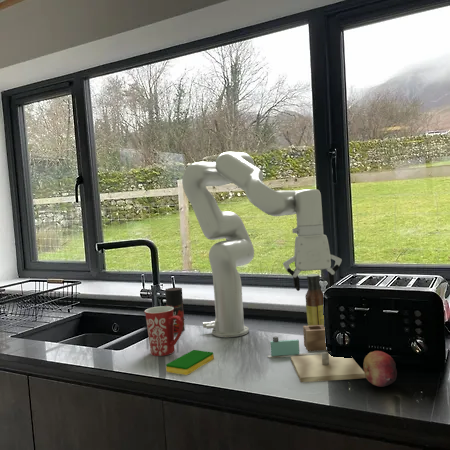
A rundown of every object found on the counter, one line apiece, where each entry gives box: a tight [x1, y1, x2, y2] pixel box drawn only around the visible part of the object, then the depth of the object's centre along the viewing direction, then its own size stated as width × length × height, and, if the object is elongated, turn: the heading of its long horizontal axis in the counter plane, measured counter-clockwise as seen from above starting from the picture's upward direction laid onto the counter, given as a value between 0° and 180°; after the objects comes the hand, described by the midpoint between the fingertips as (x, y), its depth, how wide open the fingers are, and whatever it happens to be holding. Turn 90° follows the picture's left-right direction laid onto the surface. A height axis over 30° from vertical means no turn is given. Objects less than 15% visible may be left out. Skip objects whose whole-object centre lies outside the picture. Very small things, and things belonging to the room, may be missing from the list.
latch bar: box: [269, 336, 300, 356], centre depth 139 cm, size 8×2×5 cm, turn 91°
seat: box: [267, 351, 367, 383], centre depth 130 cm, size 22×21×4 cm
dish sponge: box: [165, 349, 215, 376], centre depth 137 cm, size 7×14×2 cm, turn 150°
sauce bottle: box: [304, 273, 325, 326], centre depth 157 cm, size 7×6×20 cm
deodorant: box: [165, 287, 185, 334], centre depth 174 cm, size 6×6×15 cm
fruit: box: [362, 350, 398, 388], centre depth 115 cm, size 8×8×8 cm
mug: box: [144, 305, 183, 357], centre depth 149 cm, size 13×9×14 cm
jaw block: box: [302, 325, 327, 352], centre depth 146 cm, size 6×6×6 cm
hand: (314, 288), depth 144 cm, fingers open, 9 cm apart
